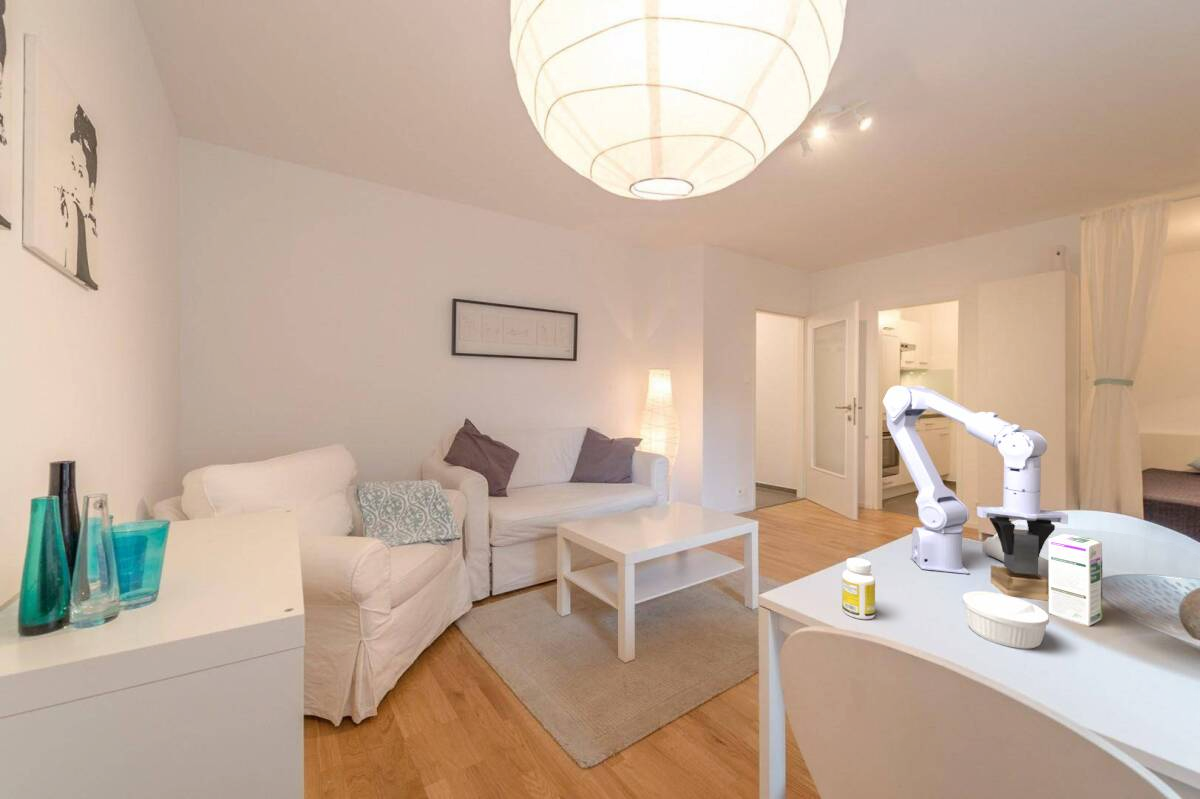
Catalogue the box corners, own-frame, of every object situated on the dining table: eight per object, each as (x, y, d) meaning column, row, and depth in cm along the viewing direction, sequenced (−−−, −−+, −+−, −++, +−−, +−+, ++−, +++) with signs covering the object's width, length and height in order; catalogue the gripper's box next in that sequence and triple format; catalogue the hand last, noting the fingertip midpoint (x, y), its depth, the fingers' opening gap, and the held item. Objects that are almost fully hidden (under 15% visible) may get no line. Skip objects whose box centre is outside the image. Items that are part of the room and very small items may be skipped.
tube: (1105, 582, 93) (1007, 540, 118) (1078, 573, 94) (986, 533, 119) (1095, 607, 94) (999, 560, 119) (1068, 597, 94) (978, 552, 119)
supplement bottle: (871, 609, 90) (872, 558, 90) (878, 622, 85) (878, 568, 85) (840, 604, 92) (840, 555, 92) (844, 617, 87) (845, 565, 86)
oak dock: (1007, 596, 96) (1007, 577, 96) (990, 582, 102) (990, 565, 102) (1051, 600, 94) (1051, 582, 93) (1030, 586, 100) (1031, 569, 100)
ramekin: (1057, 661, 73) (1057, 627, 73) (966, 641, 79) (966, 609, 79) (1038, 630, 82) (1039, 600, 82) (958, 613, 88) (959, 586, 88)
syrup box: (1090, 627, 83) (1092, 546, 83) (1046, 613, 88) (1048, 536, 88) (1102, 620, 86) (1104, 541, 85) (1059, 606, 91) (1061, 532, 91)
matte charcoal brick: (1013, 572, 96) (1014, 533, 96) (1003, 565, 100) (1004, 528, 100) (1038, 575, 95) (1038, 535, 95) (1026, 567, 99) (1027, 530, 99)
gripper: (988, 491, 96) (987, 557, 96) (1078, 495, 91) (1077, 565, 92) (973, 484, 103) (972, 546, 103) (1056, 488, 98) (1054, 553, 98)
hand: (1020, 554), depth 98 cm, fingers closed on matte charcoal brick, 4 cm apart
